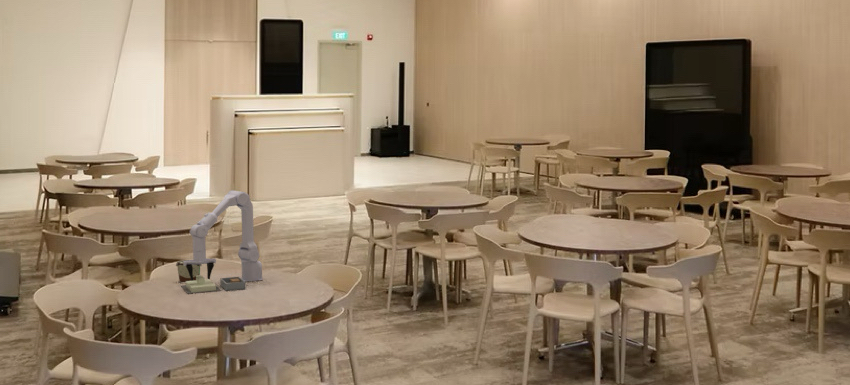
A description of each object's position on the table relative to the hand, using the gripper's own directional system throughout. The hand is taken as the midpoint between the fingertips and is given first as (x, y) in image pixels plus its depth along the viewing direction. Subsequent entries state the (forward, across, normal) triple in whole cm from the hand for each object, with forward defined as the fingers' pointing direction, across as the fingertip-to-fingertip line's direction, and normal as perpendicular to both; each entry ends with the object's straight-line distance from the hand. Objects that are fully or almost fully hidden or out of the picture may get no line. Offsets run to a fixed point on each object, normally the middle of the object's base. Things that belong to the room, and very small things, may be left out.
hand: (200, 279), depth 430 cm
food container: (+4, -1, +18) cm, 19 cm away
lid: (+4, 0, 0) cm, 4 cm away
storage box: (+4, +14, -4) cm, 15 cm away
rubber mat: (+4, 0, 0) cm, 4 cm away
